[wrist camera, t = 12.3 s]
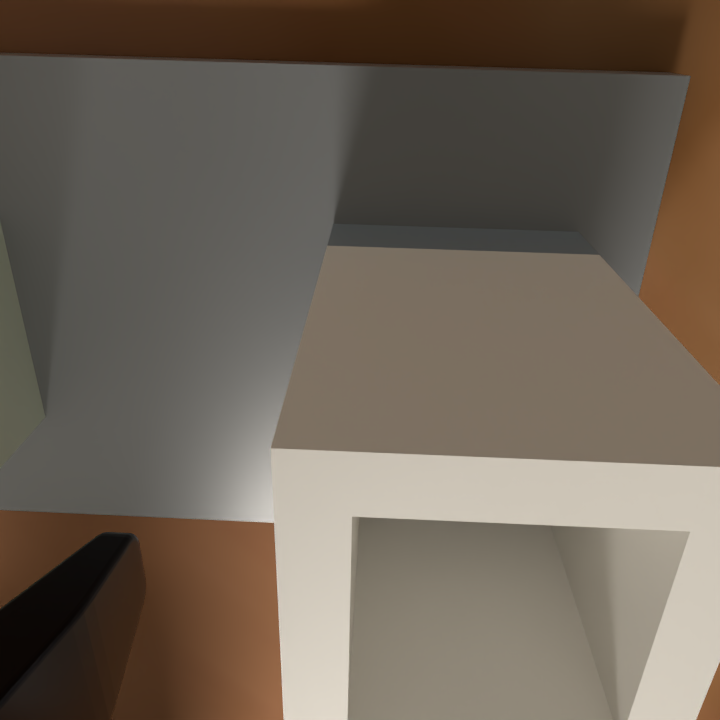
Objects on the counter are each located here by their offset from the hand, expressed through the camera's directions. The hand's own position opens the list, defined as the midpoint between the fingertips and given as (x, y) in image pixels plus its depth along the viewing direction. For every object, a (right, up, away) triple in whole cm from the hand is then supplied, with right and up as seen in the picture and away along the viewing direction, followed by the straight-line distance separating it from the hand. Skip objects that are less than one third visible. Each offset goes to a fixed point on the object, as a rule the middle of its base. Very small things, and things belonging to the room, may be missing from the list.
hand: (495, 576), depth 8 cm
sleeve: (0, +3, +6) cm, 7 cm away
